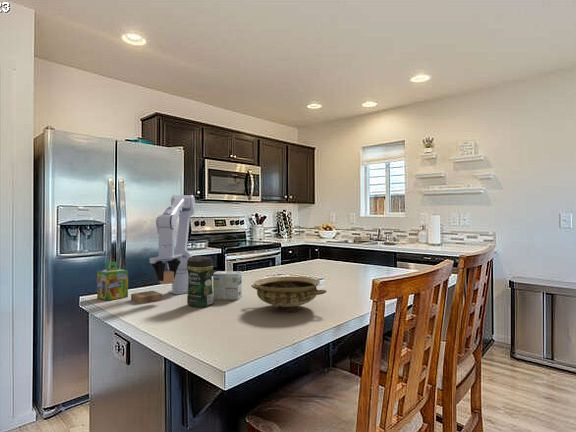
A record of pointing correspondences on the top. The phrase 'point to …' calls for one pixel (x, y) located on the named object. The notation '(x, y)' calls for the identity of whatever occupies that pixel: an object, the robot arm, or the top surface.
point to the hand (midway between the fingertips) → (166, 279)
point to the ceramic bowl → (287, 291)
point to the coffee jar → (200, 281)
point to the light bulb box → (227, 285)
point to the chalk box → (112, 283)
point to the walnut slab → (146, 297)
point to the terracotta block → (168, 277)
